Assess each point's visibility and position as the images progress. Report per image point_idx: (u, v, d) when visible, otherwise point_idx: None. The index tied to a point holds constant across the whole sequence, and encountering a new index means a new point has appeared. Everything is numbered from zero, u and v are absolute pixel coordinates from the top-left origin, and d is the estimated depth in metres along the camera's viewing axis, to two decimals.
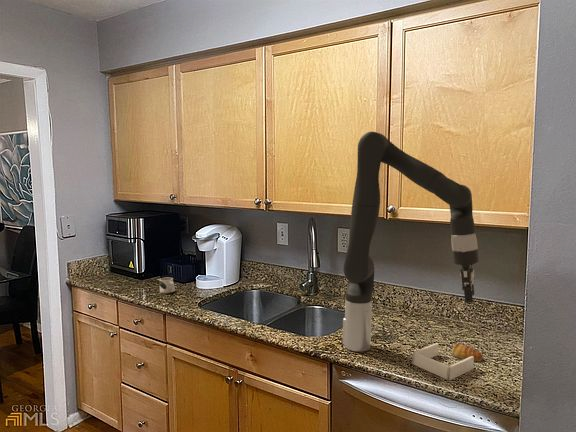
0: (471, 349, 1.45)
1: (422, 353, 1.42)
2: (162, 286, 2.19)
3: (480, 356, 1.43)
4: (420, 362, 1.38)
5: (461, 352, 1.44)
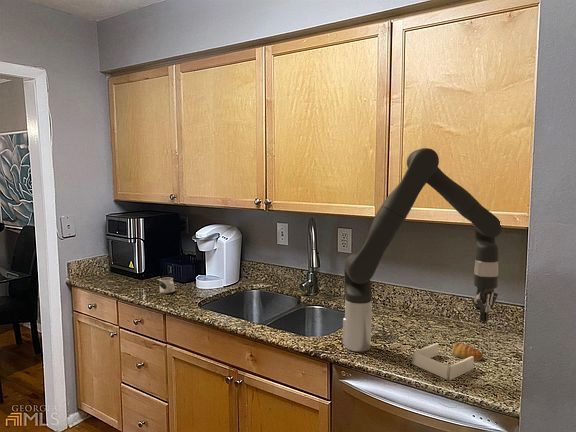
0: (471, 348, 1.46)
1: (422, 353, 1.42)
2: (162, 286, 2.19)
3: (480, 355, 1.43)
4: (420, 362, 1.38)
5: (461, 351, 1.45)
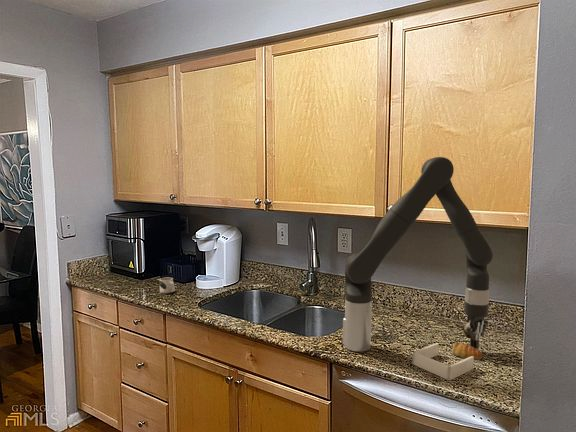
0: (471, 347, 1.46)
1: (422, 353, 1.42)
2: (162, 286, 2.19)
3: (480, 354, 1.44)
4: (420, 362, 1.38)
5: (461, 350, 1.45)
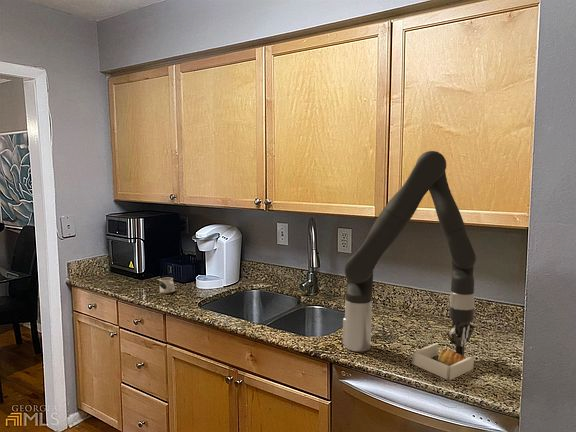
0: (458, 355, 1.40)
1: (422, 353, 1.42)
2: (162, 286, 2.19)
3: None
4: (420, 362, 1.38)
5: (447, 358, 1.40)
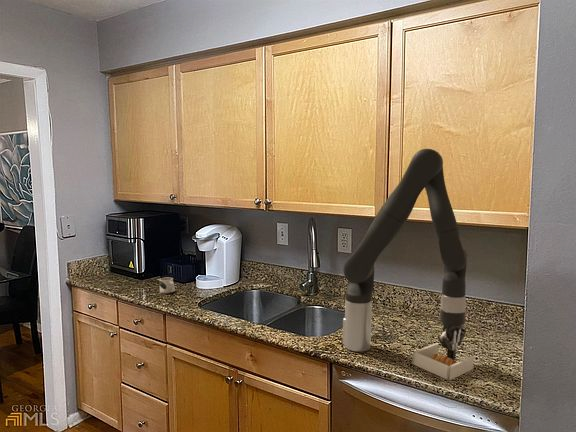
0: (450, 360, 1.37)
1: (422, 353, 1.42)
2: (162, 286, 2.19)
3: None
4: (420, 362, 1.38)
5: None
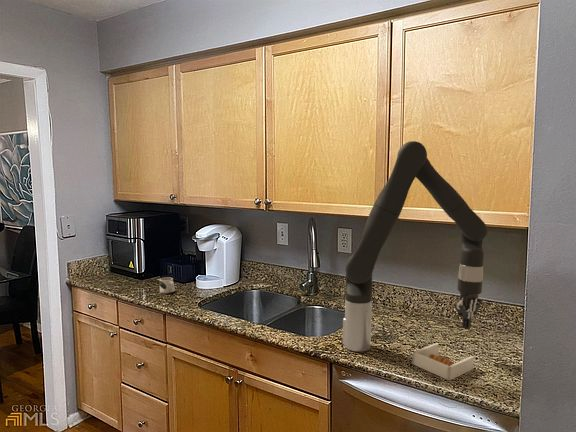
0: (447, 360, 1.36)
1: (422, 353, 1.42)
2: (162, 286, 2.19)
3: None
4: (420, 362, 1.38)
5: None
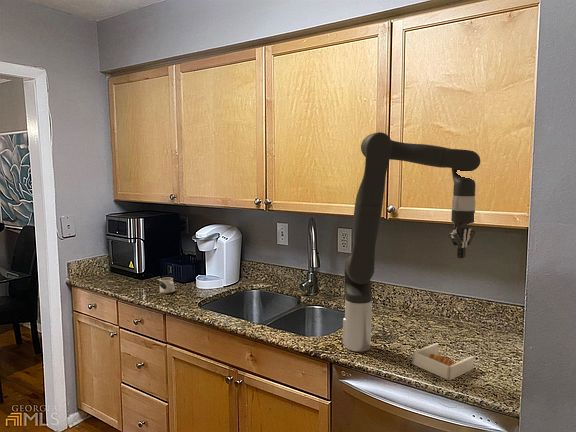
0: (447, 360, 1.37)
1: (422, 353, 1.42)
2: (162, 286, 2.19)
3: None
4: (420, 362, 1.38)
5: None
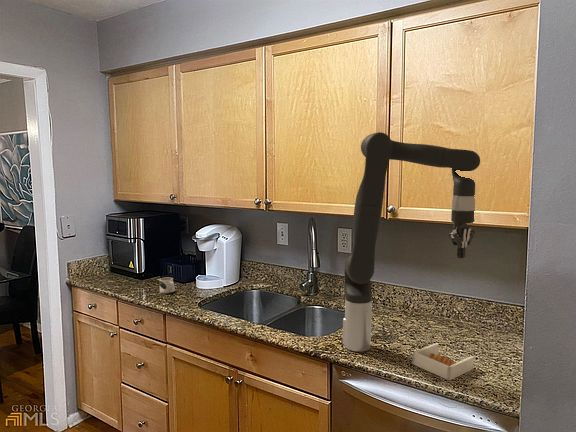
0: (447, 359, 1.37)
1: (422, 353, 1.42)
2: (162, 286, 2.19)
3: None
4: (420, 362, 1.38)
5: None
